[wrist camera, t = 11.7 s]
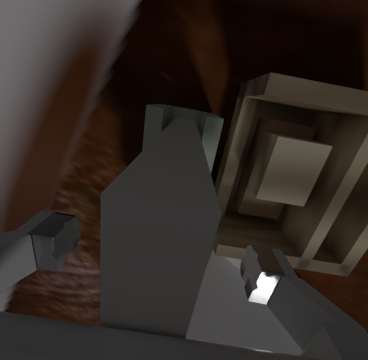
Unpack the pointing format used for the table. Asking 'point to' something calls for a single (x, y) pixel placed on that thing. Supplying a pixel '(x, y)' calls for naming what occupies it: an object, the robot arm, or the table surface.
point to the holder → (165, 114)
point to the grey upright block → (158, 235)
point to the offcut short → (287, 168)
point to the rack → (324, 186)
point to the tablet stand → (235, 312)
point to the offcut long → (243, 194)
